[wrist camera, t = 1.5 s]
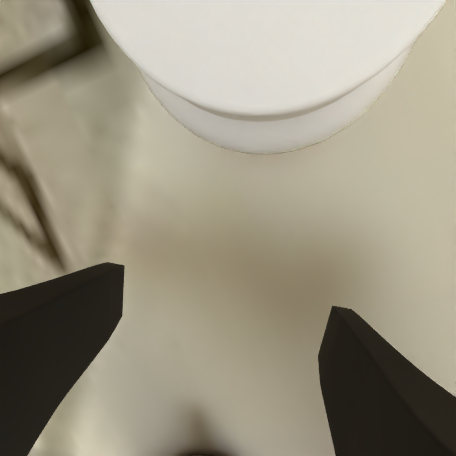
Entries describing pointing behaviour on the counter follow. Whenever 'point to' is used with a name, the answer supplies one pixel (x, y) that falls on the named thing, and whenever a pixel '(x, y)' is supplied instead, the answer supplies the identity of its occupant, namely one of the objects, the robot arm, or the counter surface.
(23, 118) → the counter surface
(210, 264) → the counter surface
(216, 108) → the pill bottle
